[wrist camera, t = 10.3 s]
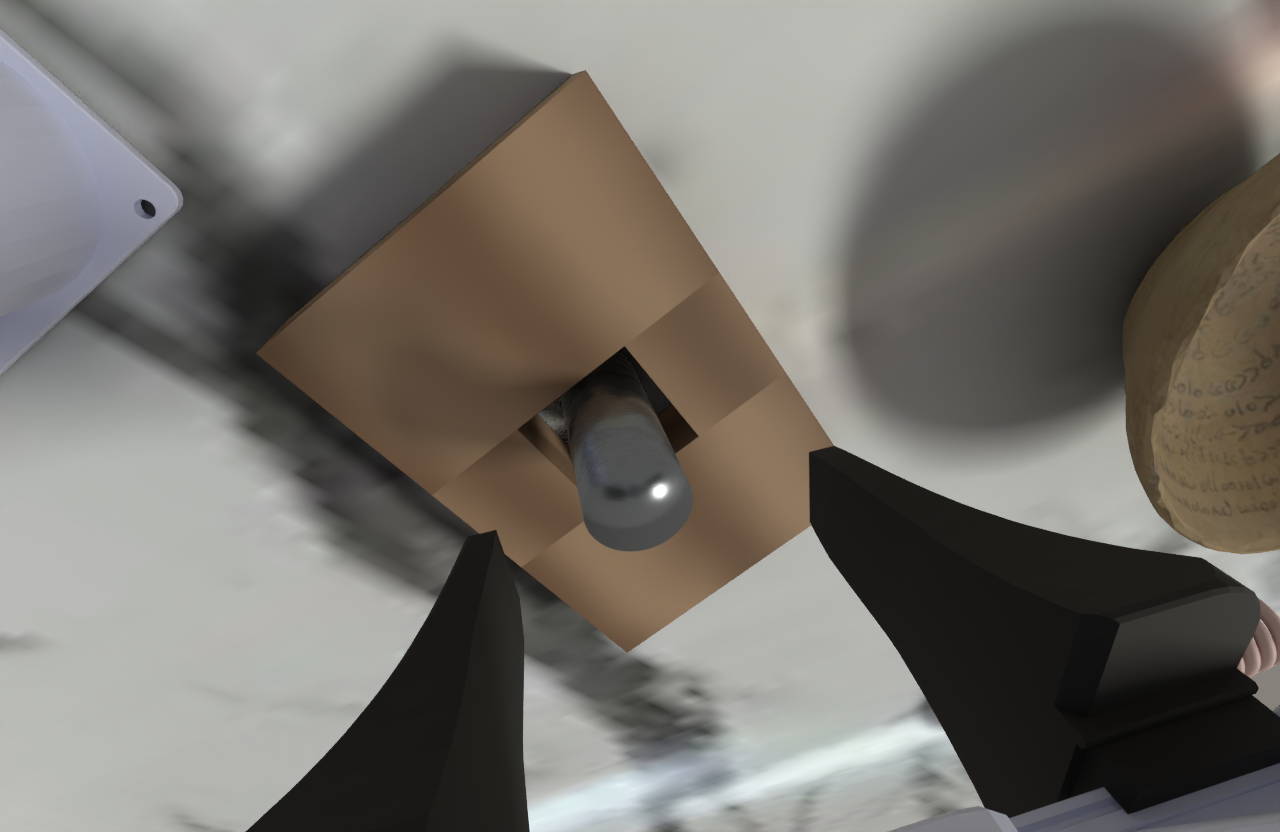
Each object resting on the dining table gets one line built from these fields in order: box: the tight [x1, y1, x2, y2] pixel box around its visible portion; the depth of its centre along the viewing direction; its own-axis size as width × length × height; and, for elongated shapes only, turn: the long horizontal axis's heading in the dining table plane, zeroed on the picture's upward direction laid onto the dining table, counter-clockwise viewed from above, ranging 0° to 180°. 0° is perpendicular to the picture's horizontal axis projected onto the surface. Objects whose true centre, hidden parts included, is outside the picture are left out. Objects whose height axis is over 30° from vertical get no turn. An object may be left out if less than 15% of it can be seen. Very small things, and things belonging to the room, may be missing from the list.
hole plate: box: [256, 70, 834, 652], centre depth 22 cm, size 12×18×3 cm, turn 36°
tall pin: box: [560, 352, 693, 552], centre depth 20 cm, size 3×3×8 cm
